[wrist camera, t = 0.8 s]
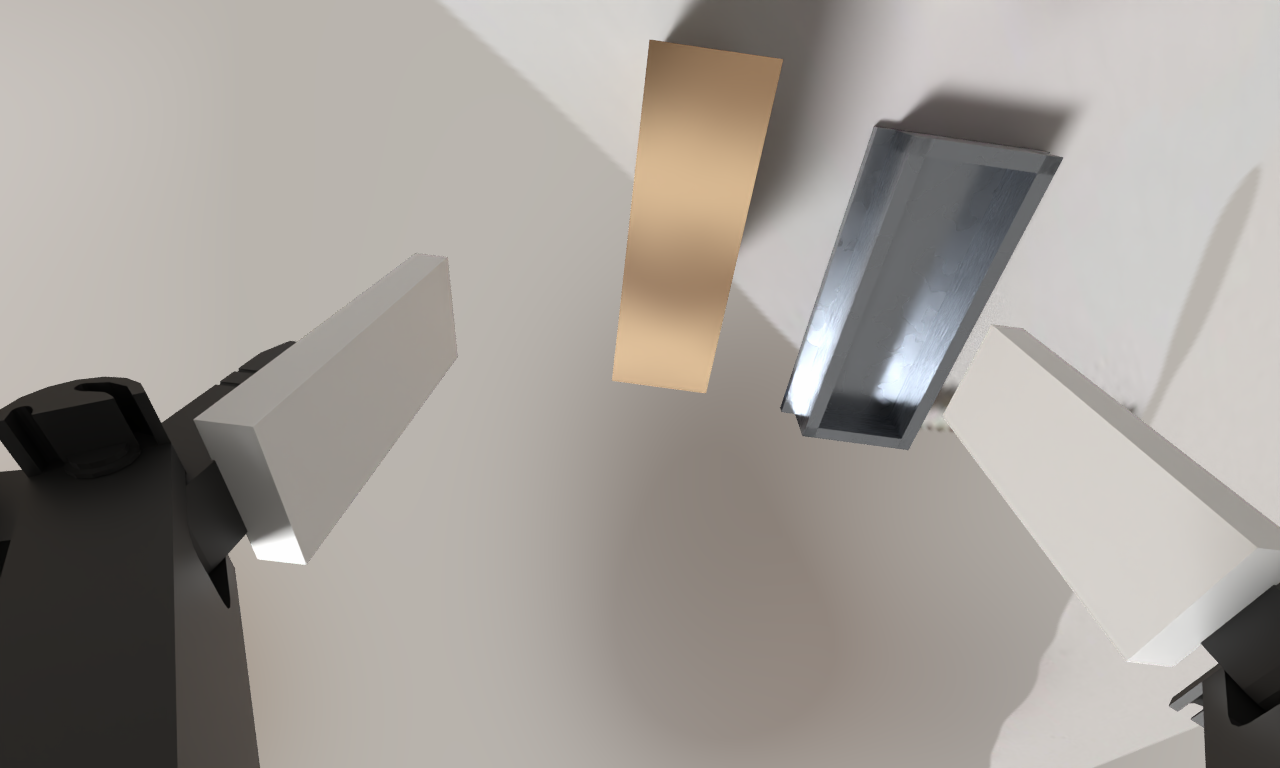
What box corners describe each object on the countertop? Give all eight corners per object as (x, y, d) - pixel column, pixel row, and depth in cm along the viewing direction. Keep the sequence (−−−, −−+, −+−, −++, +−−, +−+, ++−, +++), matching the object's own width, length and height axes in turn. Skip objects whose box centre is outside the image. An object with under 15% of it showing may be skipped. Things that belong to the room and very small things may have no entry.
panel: (659, 48, 25) (649, 39, 15) (739, 59, 25) (783, 59, 15) (632, 278, 32) (612, 380, 21) (695, 287, 32) (705, 393, 22)
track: (874, 126, 26) (895, 133, 24) (1044, 151, 26) (1082, 160, 24) (780, 407, 36) (788, 433, 33) (905, 424, 36) (922, 451, 34)
